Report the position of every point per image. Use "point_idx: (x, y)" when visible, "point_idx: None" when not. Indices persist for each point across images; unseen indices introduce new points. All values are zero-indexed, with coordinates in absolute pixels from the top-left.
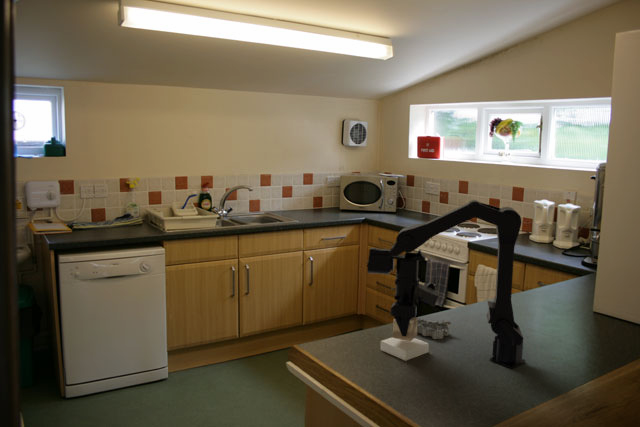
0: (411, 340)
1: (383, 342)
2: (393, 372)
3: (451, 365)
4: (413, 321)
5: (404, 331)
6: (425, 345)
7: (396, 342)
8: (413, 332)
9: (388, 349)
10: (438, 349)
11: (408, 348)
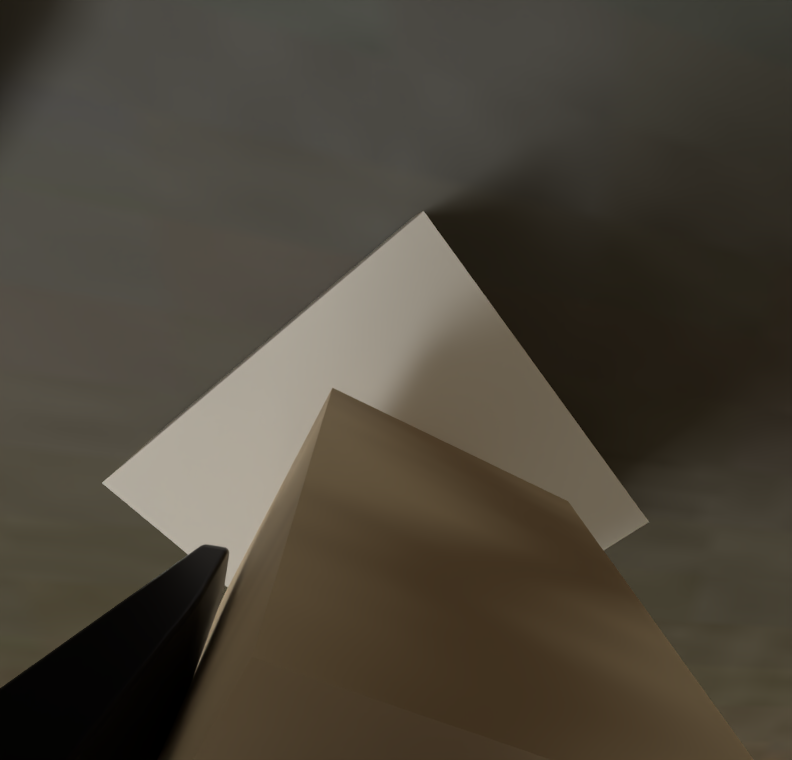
0: (544, 490)
1: None
2: (784, 572)
3: (789, 13)
4: None
5: None
6: (460, 264)
7: None
8: (508, 517)
9: None
10: (319, 59)
11: (575, 487)
